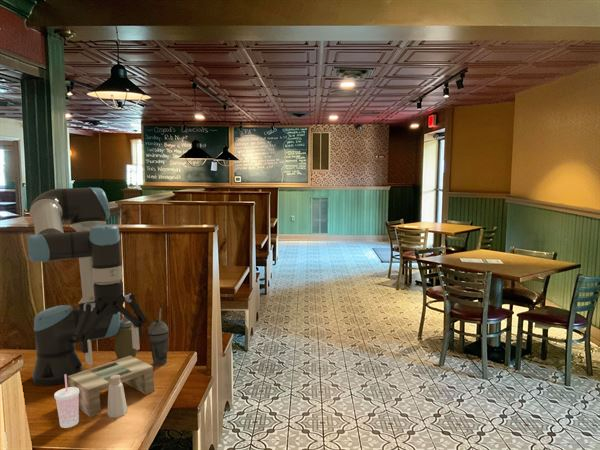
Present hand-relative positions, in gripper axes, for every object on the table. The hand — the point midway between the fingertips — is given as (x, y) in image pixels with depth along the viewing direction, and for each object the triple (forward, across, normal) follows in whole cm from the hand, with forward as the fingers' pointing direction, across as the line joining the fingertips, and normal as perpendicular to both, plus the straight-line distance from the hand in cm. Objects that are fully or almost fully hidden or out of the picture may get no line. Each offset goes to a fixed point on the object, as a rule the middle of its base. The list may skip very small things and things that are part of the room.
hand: (113, 355), depth 128 cm
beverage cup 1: (+17, -11, +6) cm, 21 cm away
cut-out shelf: (+17, +4, +11) cm, 21 cm away
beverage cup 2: (+17, +27, +22) cm, 39 cm away
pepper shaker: (+17, 0, 0) cm, 17 cm away
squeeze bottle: (+17, +21, +35) cm, 44 cm away
